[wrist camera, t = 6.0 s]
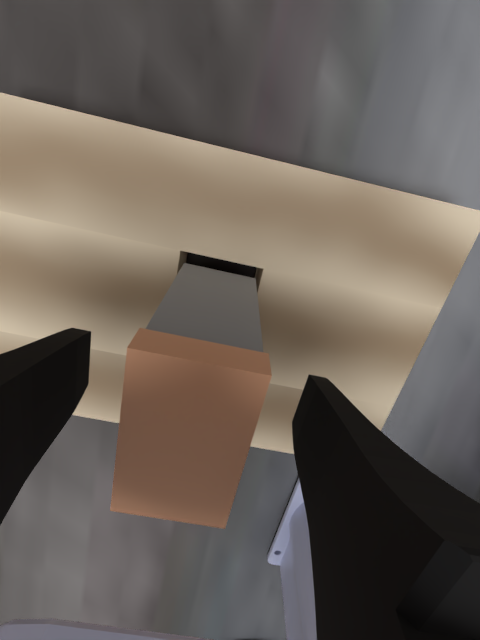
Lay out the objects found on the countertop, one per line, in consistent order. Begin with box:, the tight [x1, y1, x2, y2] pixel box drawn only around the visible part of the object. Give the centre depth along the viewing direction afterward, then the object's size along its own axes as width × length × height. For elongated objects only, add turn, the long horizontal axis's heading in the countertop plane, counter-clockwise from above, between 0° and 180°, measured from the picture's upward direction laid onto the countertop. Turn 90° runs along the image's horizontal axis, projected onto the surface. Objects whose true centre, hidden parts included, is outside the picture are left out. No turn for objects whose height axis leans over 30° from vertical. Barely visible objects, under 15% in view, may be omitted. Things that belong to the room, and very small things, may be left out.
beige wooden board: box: [0, 93, 480, 454], centre depth 17 cm, size 14×20×3 cm
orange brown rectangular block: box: [110, 263, 272, 529], centre depth 12 cm, size 5×3×7 cm, turn 167°
